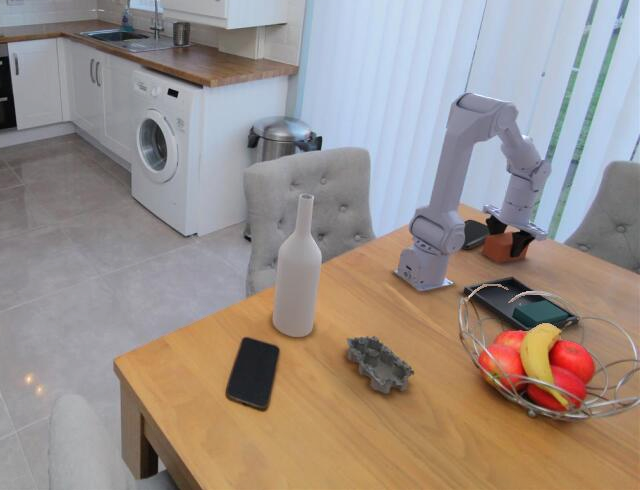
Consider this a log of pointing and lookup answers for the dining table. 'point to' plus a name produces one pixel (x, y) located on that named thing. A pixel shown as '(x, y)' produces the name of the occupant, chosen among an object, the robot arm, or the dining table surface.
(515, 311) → the teal pad
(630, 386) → the dining table surface
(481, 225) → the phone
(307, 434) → the dining table surface
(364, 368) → the egg carton
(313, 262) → the bottle
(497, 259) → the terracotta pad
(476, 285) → the pad tray
